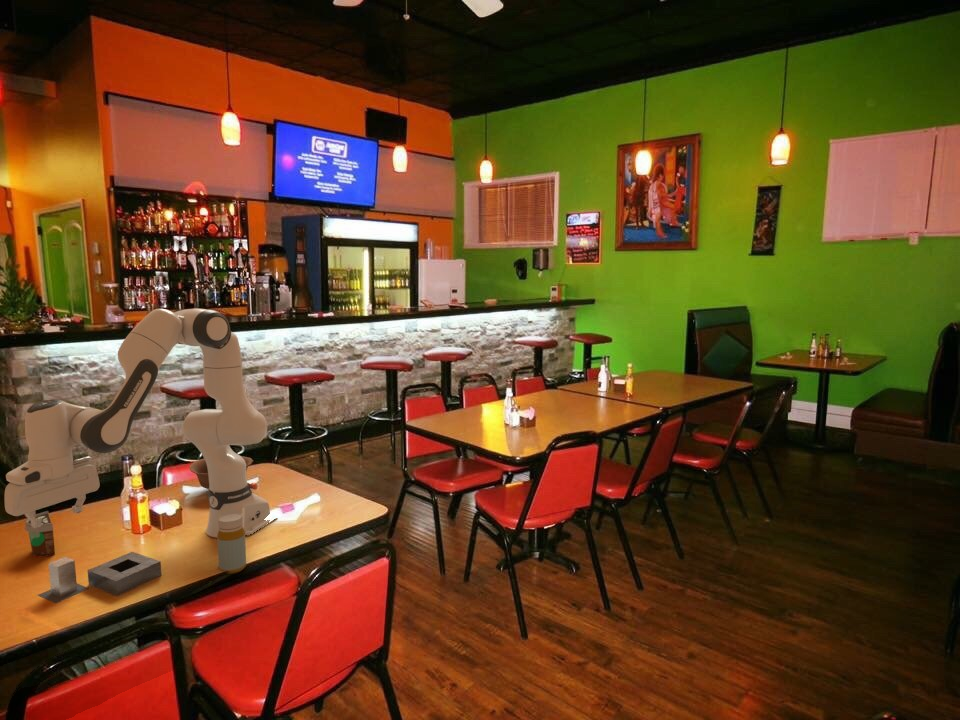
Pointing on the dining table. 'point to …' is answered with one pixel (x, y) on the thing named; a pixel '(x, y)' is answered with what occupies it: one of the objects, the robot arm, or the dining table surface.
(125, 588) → the socket block
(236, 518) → the bottle
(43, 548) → the food container
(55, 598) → the rubber pad
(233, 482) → the robot arm
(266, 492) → the dining table surface
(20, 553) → the dining table surface
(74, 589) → the steel plug
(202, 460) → the bowl
